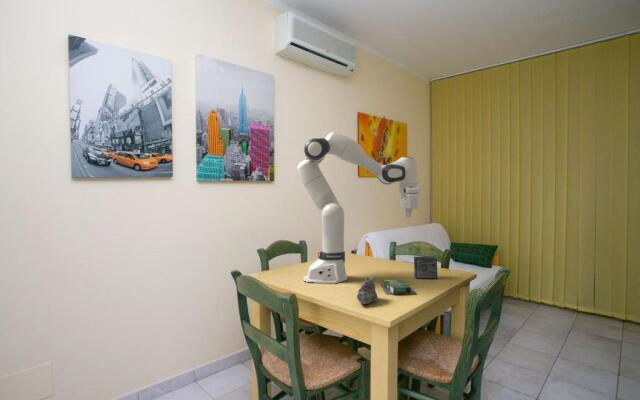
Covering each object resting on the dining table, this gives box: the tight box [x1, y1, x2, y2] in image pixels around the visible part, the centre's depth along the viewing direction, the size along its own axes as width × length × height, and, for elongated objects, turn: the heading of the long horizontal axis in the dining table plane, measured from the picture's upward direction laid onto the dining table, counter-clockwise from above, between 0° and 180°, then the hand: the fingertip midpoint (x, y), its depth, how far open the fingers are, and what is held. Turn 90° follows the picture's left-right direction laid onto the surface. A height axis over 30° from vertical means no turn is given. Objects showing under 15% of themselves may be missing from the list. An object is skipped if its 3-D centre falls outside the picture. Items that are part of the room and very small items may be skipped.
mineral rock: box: [356, 276, 379, 305], centre depth 137 cm, size 13×11×10 cm
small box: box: [413, 256, 438, 280], centre depth 174 cm, size 11×6×10 cm, turn 84°
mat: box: [380, 283, 418, 295], centre depth 153 cm, size 13×14×1 cm
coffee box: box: [382, 279, 412, 295], centre depth 152 cm, size 8×3×13 cm
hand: (408, 217), depth 171 cm, fingers closed
